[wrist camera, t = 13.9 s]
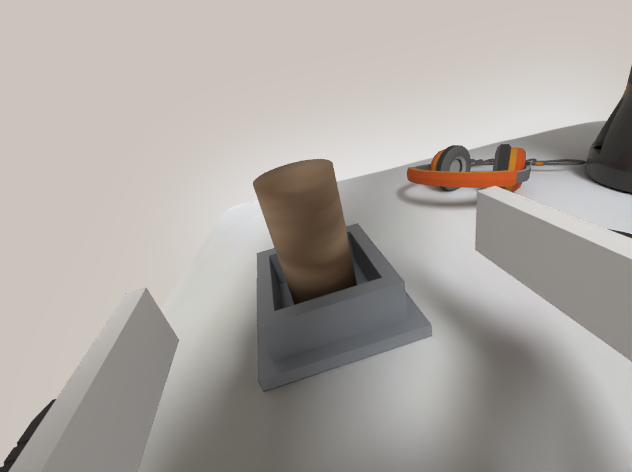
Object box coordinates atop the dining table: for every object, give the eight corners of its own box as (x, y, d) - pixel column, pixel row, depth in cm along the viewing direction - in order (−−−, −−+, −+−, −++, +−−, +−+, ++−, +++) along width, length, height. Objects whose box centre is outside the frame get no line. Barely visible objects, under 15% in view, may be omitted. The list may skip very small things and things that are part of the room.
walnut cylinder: (348, 270, 25) (323, 154, 20) (368, 308, 21) (342, 171, 16) (291, 288, 25) (253, 174, 20) (299, 330, 20) (252, 196, 16)
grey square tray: (370, 252, 28) (364, 216, 27) (431, 335, 19) (428, 286, 17) (260, 286, 28) (245, 251, 26) (263, 391, 18) (241, 346, 16)
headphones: (595, 136, 34) (558, 149, 22) (584, 182, 36) (545, 219, 23) (450, 141, 46) (372, 151, 33) (447, 175, 48) (372, 197, 35)
